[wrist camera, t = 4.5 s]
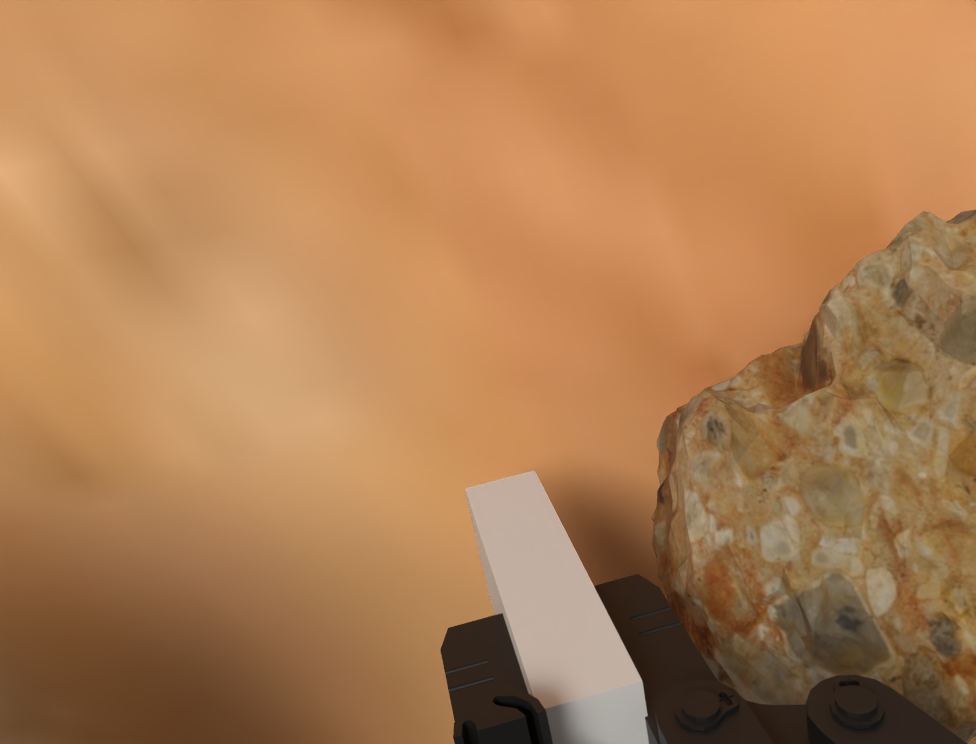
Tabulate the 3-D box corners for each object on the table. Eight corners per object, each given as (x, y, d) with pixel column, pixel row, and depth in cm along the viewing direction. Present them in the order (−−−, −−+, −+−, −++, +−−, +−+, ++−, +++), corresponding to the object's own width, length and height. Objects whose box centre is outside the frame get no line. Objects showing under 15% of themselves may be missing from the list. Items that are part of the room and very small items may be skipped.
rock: (930, 576, 25) (1291, 883, 16) (586, 597, 23) (769, 963, 14) (1043, 149, 21) (1615, 225, 12) (639, 129, 19) (945, 203, 10)
